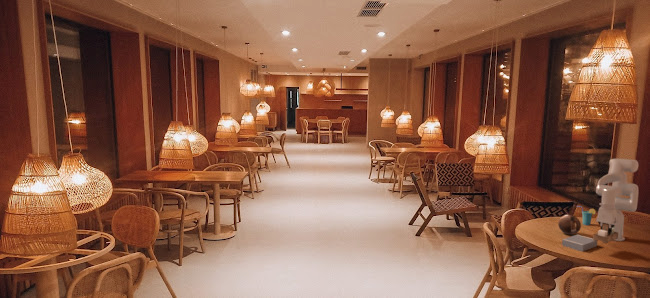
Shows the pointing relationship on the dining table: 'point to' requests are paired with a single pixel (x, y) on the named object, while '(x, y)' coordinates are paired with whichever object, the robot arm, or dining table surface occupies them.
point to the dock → (579, 242)
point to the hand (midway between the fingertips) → (606, 232)
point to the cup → (587, 216)
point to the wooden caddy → (609, 237)
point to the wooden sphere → (569, 224)
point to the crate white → (602, 233)
